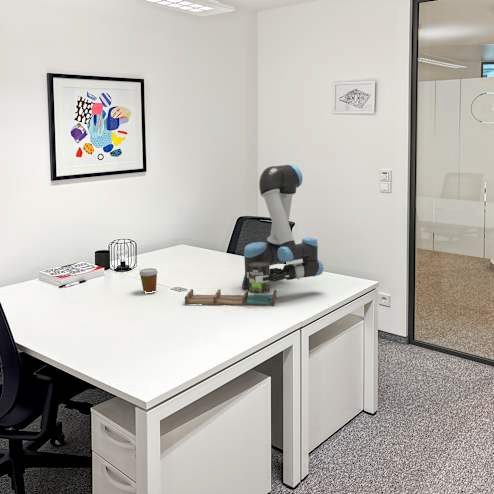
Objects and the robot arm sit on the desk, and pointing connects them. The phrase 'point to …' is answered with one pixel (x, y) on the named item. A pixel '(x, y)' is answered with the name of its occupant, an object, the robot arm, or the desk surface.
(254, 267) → the coffee can
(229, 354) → the desk surface
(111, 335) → the desk surface
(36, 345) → the desk surface
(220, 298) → the slot rack
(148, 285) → the disposable coffee cup
